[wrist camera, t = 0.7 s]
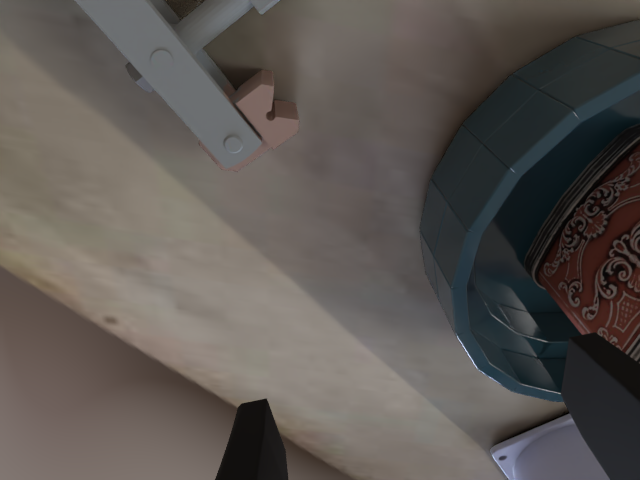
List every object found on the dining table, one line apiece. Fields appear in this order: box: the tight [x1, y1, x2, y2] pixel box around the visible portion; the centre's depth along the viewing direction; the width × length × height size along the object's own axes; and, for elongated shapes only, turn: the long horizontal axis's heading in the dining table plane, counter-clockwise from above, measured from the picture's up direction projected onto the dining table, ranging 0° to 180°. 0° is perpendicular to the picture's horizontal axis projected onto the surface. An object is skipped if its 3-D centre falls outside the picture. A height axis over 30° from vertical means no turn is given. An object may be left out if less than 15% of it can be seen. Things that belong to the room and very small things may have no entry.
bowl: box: [420, 19, 640, 402], centre depth 20 cm, size 15×15×4 cm
